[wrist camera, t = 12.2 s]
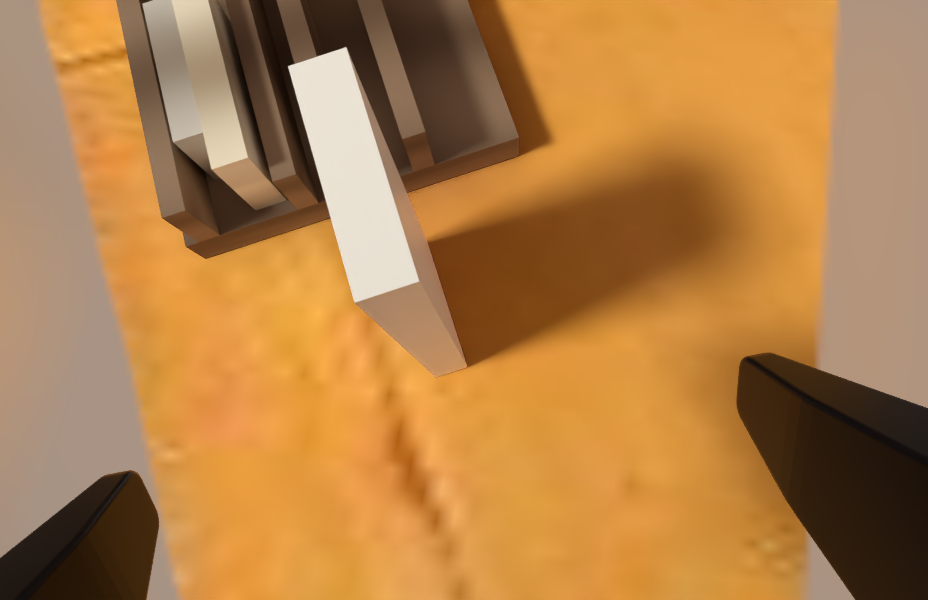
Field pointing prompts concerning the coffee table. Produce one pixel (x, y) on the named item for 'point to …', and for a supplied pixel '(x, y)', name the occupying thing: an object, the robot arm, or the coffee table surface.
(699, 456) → the coffee table surface
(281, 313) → the coffee table surface
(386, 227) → the white flat board
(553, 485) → the coffee table surface
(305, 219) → the offcut rack
